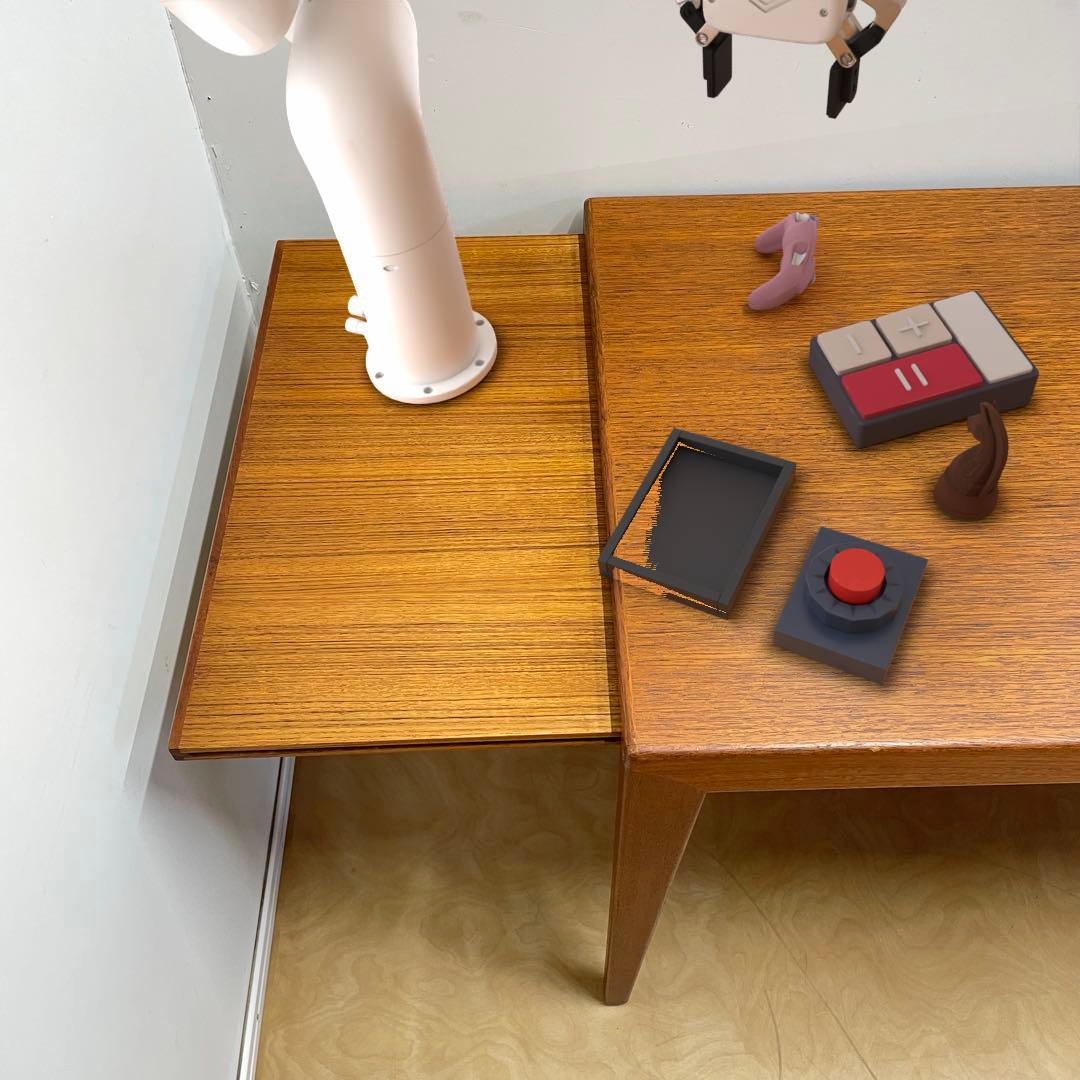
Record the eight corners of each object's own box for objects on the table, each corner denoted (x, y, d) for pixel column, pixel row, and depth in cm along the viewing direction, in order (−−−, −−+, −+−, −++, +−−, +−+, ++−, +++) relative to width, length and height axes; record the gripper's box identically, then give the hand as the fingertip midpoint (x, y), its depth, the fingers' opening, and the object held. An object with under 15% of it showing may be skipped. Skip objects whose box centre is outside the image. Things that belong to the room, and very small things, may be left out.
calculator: (808, 330, 85) (977, 281, 85) (806, 366, 88) (969, 319, 88) (860, 420, 78) (1044, 366, 78) (856, 455, 82) (1032, 404, 81)
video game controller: (786, 328, 93) (827, 275, 87) (742, 309, 92) (781, 255, 86) (792, 260, 98) (831, 206, 93) (751, 242, 98) (788, 187, 92)
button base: (771, 645, 72) (775, 616, 69) (817, 542, 77) (822, 510, 73) (882, 685, 69) (891, 657, 66) (923, 575, 74) (933, 544, 70)
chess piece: (979, 470, 78) (1010, 380, 70) (1009, 519, 75) (1045, 431, 67) (923, 483, 78) (947, 394, 70) (950, 532, 75) (980, 446, 67)
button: (820, 594, 70) (823, 580, 68) (837, 555, 71) (840, 541, 70) (872, 611, 68) (875, 598, 67) (887, 571, 70) (891, 557, 69)
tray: (599, 574, 77) (597, 559, 76) (674, 443, 84) (673, 427, 83) (727, 620, 74) (727, 605, 72) (794, 479, 80) (796, 462, 79)
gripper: (638, -138, 64) (654, 107, 78) (903, -121, 57) (870, 145, 71) (689, -186, 68) (696, 57, 81) (946, -176, 61) (906, 89, 74)
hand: (777, 98), depth 76 cm, fingers open, 9 cm apart
